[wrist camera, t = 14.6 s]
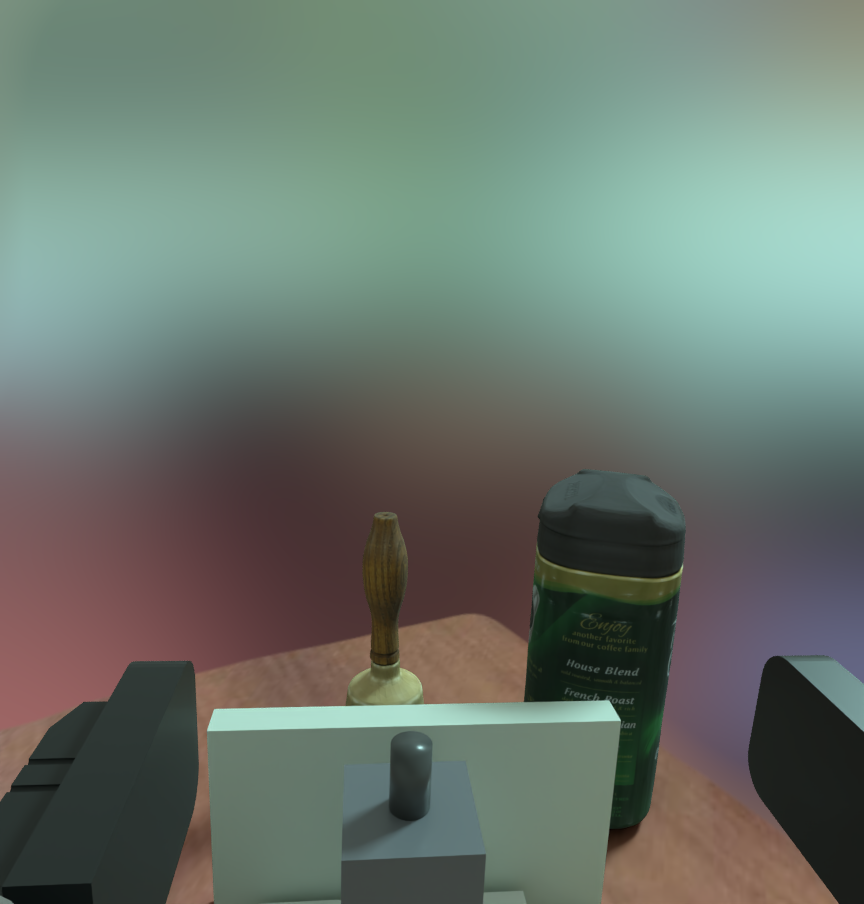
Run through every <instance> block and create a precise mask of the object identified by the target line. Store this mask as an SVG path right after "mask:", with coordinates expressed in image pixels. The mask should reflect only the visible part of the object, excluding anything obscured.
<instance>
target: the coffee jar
mask: <svg viewBox="0 0 864 904" xmlns="http://www.w3.org/2000/svg"><path fill="white" fill-rule="evenodd" d="M538 518H539V519H540V523H539V531H538V537H537V547H536V561H535V571H534V572H535V573H534V584H533V595H532V596H533V597H532V609H531V618H530V633H529V644H528V657H527V672H526V685H525V697H524V702H560V701H605V700H609V701H610V703H611V704H612V706H613V708H614V710H615V711H616V713H617V715H618V716H619V718H620V720H621V726H620V735H619V744H618V753H617V762H616V771H615V780H614V789H613V799H612V808H611V817H610V826H609V829H620V828H626V827H629V826H633V825H636V824H638V823H639V822H641V821H642V820H643V819H644V818H645V816H646V815H647V813H648V811H649V808H650V804H651V798H652V792H653V785H654V779H655V772H656V765H657V757H658V749H659V742H660V734H661V725H662V718H663V711H664V705H665V698H666V692H667V685H668V677H669V671H670V665H671V657H672V650H673V642H674V634H675V626H676V619H677V618H676V617H677V611H678V603H679V593H680V584H681V575H682V570H683V559H684V543H685V531H686V530H685V519H684V515H683V512H682V510H681V509H680V507H679V504H678V503H677V501H676V500H675V499H674V498H673V497H671V496H670V495H669V494H668V493H667V492H665V491H664V490H662V489H661V488H660V487H658V486H657V485H655V484H654V483H652V482H651V480H650V479H649V478H648V477H647V476H643V475H636V474H626V473H617V472H609V471H599V470H589V469H583V470H581V471H579V473H577V474H575V475H573V476H571V477H569V478H566V479H564V480H562V481H560V482H558V483H557V484H555V485H554V486H553V487H552V488H551V489H550V490H549V491H548V493H547V495H546V497H545V498H544V499H543V503H542V506H541V509H540V512H539V514H538Z"/></svg>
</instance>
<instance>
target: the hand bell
mask: <svg viewBox="0 0 864 904" xmlns="http://www.w3.org/2000/svg"><path fill="white" fill-rule="evenodd" d="M407 575H408V559H407V552H406V547H405V544H404V540H403V537H402V535H401V532H400V529H399V526H398V520H397V515H396V514H394V513H390V512H380V513H376V514H375V515H374V520H373V524H372V528H371V532H370V534H369V536H368V539H367V542H366V546H365V550H364V555H363V582H364V590H365V594H366V599H367V602H368V604H369V608H370V611H371V617H372V636H371V652H370V658H371V660H372V661H371V668H370V669H367V670H365V671H362V672H361V673H359V674H357V675H356V676H355V677H354V678H353V679H352V681H351V682H350V684H349V686H348V692H347V700H346V706H378V705H423V704H424V701H423V691H422V685H421V683H420V681H419V679H418V678H417V677H416V676H415V675H414V674H413V673H411V672H409V671H407V670H405V669H402V668H400V661H399V649H398V648H399V639H398V617H399V612H400V608H401V605H402V602H403V599H404V595H405V590H406V585H407Z"/></svg>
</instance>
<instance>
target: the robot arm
mask: <svg viewBox="0 0 864 904" xmlns="http://www.w3.org/2000/svg"><path fill="white" fill-rule="evenodd" d="M748 762H749V770H750V774H751V778H752V781H753V784H754V787H755V789H756V791H757V793H758V795H759V797H760V798H761V800H762V801H763V802H764V804H765V805H766V806H767V808H768V809H769V810H770V812H771V813H772V814H773V816H774V817H775V818H776V820H777V821H778V823H779V824H780V825H781V827H782V828H783V829H784V831H785V832H786V833H787V835H788V836H789V837H790V839H791V840H792V841H793V843H794V844H795V845H796V847H797V848H798V849H799V851H800V852H801V853H802V855H803V856H804V857H805V859H806V860H807V861H808V863H809V864H810V865H811V867H812V868H813V869H814V871H815V872H816V873H817V875H818V876H819V877H820V879H821V880H822V881H823V883H824V884H825V885H826V887H827V888H828V889H829V891H830V892H831V893H832V895H833V896H834V897H835V899H836V900H837V901H838V903H839V904H864V684H863V683H861V681H859V680H858V679H857V678H856V677H855V676H853V675H852V674H851V673H850V672H849V671H847V670H846V669H845V668H844V667H843V666H841V665H840V664H839V663H838V662H837V661H835V660H834V659H832V658H831V657H829V656H824V655H811V656H773V657H771V658H770V659H769V660H768V661H767V662H766V664H765V666H764V669H763V673H762V677H761V683H760V689H759V694H758V699H757V705H756V711H755V716H754V722H753V727H752V733H751V738H750V744H749V751H748ZM198 769H199V760H198V736H197V712H196V688H195V673H194V667H193V664H192V662H191V661H137V662H136V661H135V662H131V663H130V664H129V666H128V667H127V669H126V671H125V672H124V674H123V676H122V678H121V679H120V681H119V683H118V685H117V686H116V688H115V690H114V692H113V693H112V695H111V697H110V699H109V700H108V702H83V703H82V704H80V705H79V706H78V707H77V708H75V709H74V710H73V711H71V712H70V713H69V714H67V715H66V716H65V717H63V718H62V719H61V720H59V721H58V722H57V723H55V724H54V725H53V726H51V727H50V728H49V729H48V731H47V732H46V734H45V735H44V737H43V738H42V740H41V741H40V743H39V744H38V746H37V747H36V749H35V750H34V752H33V753H32V755H31V756H30V758H29V763H28V765H24V767H23V768H22V770H21V771H20V773H19V774H18V776H17V777H16V779H15V780H14V782H13V783H12V785H11V791H10V792H7V793H6V794H5V796H4V797H3V799H2V800H1V802H0V904H166V900H167V897H168V894H169V890H170V887H171V884H172V880H173V877H174V874H175V870H176V867H177V864H178V861H179V857H180V854H181V851H182V847H183V844H184V841H185V837H186V834H187V831H188V827H189V824H190V821H191V818H192V814H193V810H194V805H195V800H196V793H197V785H198Z"/></svg>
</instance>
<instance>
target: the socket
mask: <svg viewBox="0 0 864 904" xmlns="http://www.w3.org/2000/svg"><path fill="white" fill-rule="evenodd" d="M620 726H621V720H620V718H619V716H618V715H617V713H616V711H615V710H614V708H613V706H612V704H611V703H610V701H609V700H605V701H560V702H514V703H469V704H423V705H378V706H333V707H287V708H242V709H214V712H213V715H212V718H211V721H210V724H209V727H208V730H207V744H208V768H209V793H210V817H211V841H212V866H213V890H214V904H341V855H342V822H343V789H344V765H347V764H378V763H390V748H391V740H392V739H393V737H394V736H396V735H397V734H399V733H402V732H406V731H417V732H421V733H423V734H425V735H427V736H428V737H429V738H430V739H431V740H432V743H433V750H432V762H440V761H466V765H467V769H468V774H469V779H470V783H471V788H472V792H473V797H474V801H475V806H476V810H477V815H478V819H479V824H480V829H481V833H482V838H483V842H484V847H485V851H486V864H485V879H484V895H483V904H601V898H602V889H603V880H604V871H605V862H606V853H607V844H608V835H609V826H610V817H611V808H612V799H613V789H614V780H615V771H616V762H617V753H618V744H619V735H620Z"/></svg>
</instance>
